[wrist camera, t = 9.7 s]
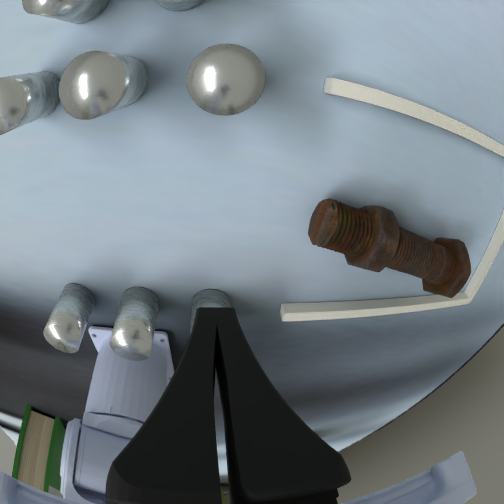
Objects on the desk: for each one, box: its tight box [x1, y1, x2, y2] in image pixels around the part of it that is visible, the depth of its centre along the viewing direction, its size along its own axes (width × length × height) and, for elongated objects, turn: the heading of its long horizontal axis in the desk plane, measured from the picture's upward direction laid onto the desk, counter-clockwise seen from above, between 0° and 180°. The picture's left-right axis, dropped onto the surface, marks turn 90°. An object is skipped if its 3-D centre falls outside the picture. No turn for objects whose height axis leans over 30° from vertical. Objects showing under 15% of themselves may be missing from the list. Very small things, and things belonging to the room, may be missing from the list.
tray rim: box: [280, 77, 504, 321], centre depth 21 cm, size 19×25×1 cm
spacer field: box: [0, 0, 265, 361], centre depth 14 cm, size 26×15×5 cm, turn 174°
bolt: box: [308, 199, 471, 298], centre depth 20 cm, size 6×5×15 cm
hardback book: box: [12, 405, 66, 498], centre depth 31 cm, size 18×7×24 cm, turn 156°
